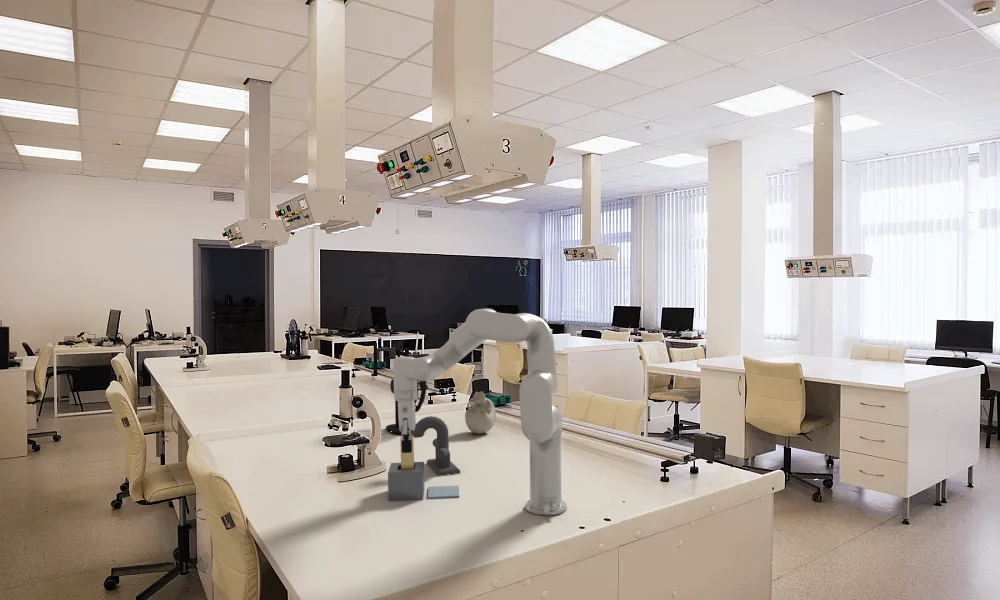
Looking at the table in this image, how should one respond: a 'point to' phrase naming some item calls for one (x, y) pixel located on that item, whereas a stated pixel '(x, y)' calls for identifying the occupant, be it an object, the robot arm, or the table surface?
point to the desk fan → (423, 391)
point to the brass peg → (407, 457)
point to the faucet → (437, 445)
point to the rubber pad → (443, 492)
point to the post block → (406, 482)
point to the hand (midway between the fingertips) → (407, 450)
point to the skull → (480, 414)
